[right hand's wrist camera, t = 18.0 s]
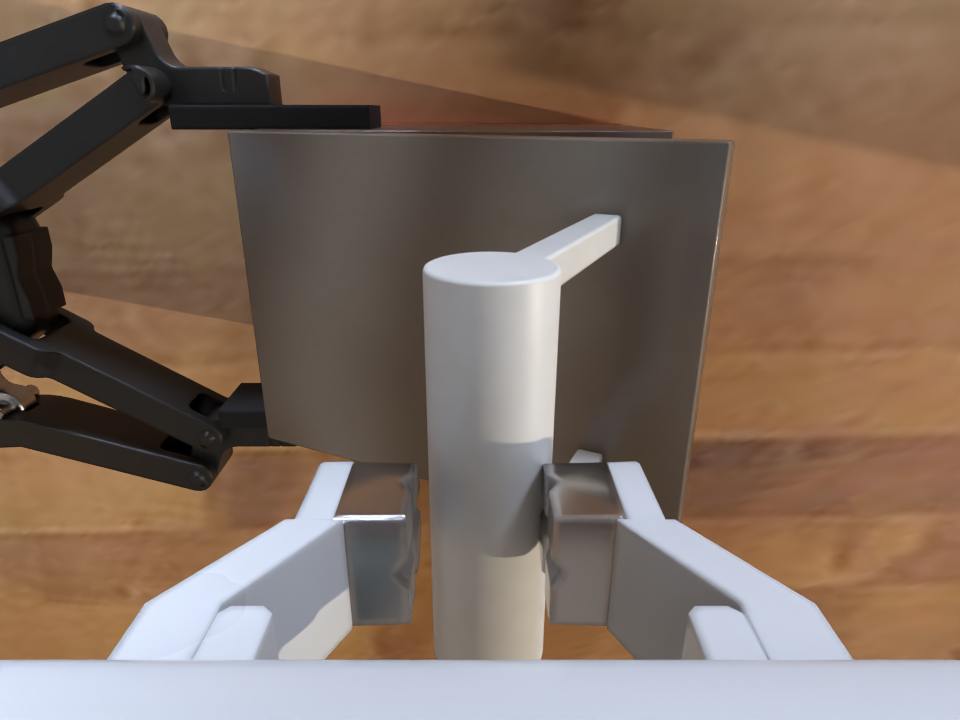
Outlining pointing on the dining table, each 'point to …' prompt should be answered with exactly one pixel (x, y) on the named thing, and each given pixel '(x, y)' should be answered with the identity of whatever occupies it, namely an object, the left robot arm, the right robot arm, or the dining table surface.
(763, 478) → the dining table surface
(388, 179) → the lid
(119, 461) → the left robot arm
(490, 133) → the chest
